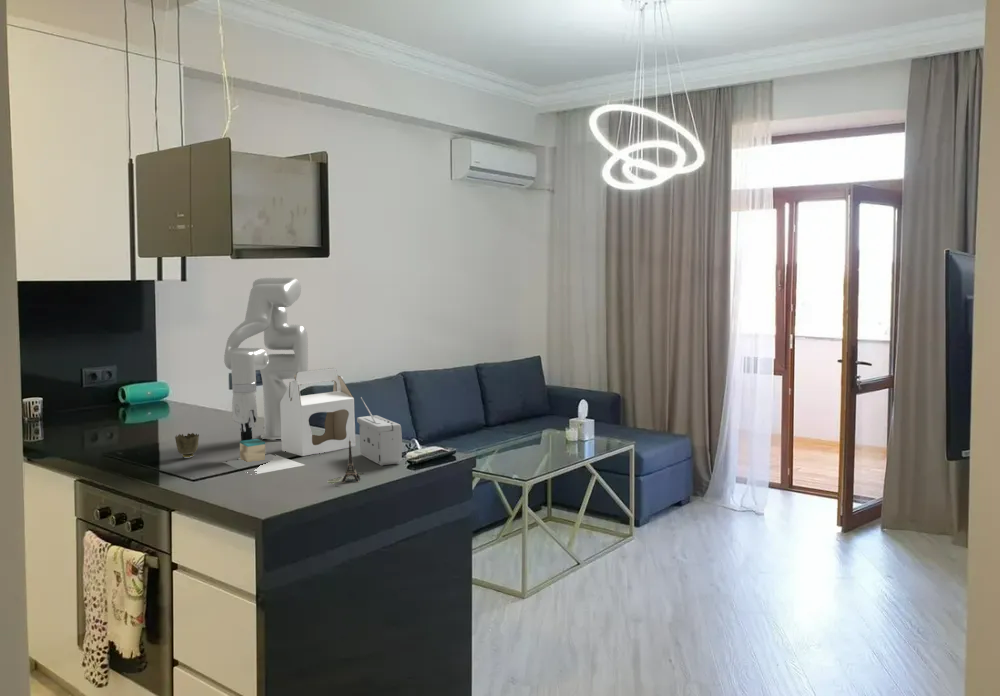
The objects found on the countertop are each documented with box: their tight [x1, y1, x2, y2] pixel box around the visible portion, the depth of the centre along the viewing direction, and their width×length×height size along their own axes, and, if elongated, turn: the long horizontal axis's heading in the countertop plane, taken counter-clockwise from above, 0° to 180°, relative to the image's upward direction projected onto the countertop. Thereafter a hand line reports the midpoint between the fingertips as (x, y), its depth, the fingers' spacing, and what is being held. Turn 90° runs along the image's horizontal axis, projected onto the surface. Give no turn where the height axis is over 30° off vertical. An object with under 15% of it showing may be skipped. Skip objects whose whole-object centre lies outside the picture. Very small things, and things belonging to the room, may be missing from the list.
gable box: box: [280, 367, 356, 457], centre depth 278 cm, size 22×13×28 cm, turn 137°
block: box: [239, 438, 266, 462], centre depth 262 cm, size 6×6×6 cm
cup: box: [174, 432, 200, 457], centre depth 267 cm, size 8×7×8 cm
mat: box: [246, 454, 305, 476], centre depth 257 cm, size 24×18×1 cm
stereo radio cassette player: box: [356, 396, 403, 467], centre depth 261 cm, size 21×8×20 cm, turn 30°
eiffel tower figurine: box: [327, 441, 364, 488], centre depth 235 cm, size 15×10×13 cm
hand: (246, 442), depth 265 cm, fingers closed
